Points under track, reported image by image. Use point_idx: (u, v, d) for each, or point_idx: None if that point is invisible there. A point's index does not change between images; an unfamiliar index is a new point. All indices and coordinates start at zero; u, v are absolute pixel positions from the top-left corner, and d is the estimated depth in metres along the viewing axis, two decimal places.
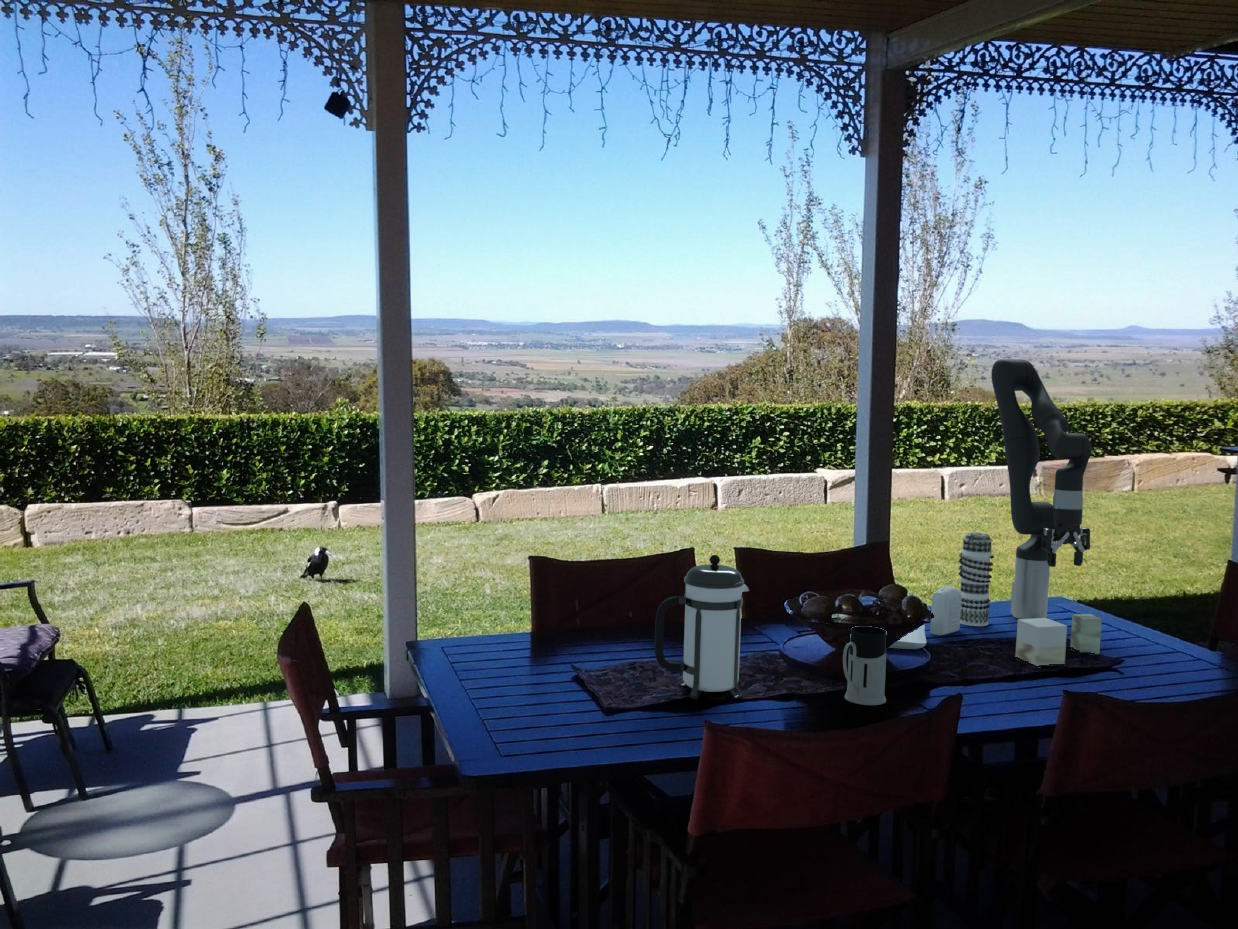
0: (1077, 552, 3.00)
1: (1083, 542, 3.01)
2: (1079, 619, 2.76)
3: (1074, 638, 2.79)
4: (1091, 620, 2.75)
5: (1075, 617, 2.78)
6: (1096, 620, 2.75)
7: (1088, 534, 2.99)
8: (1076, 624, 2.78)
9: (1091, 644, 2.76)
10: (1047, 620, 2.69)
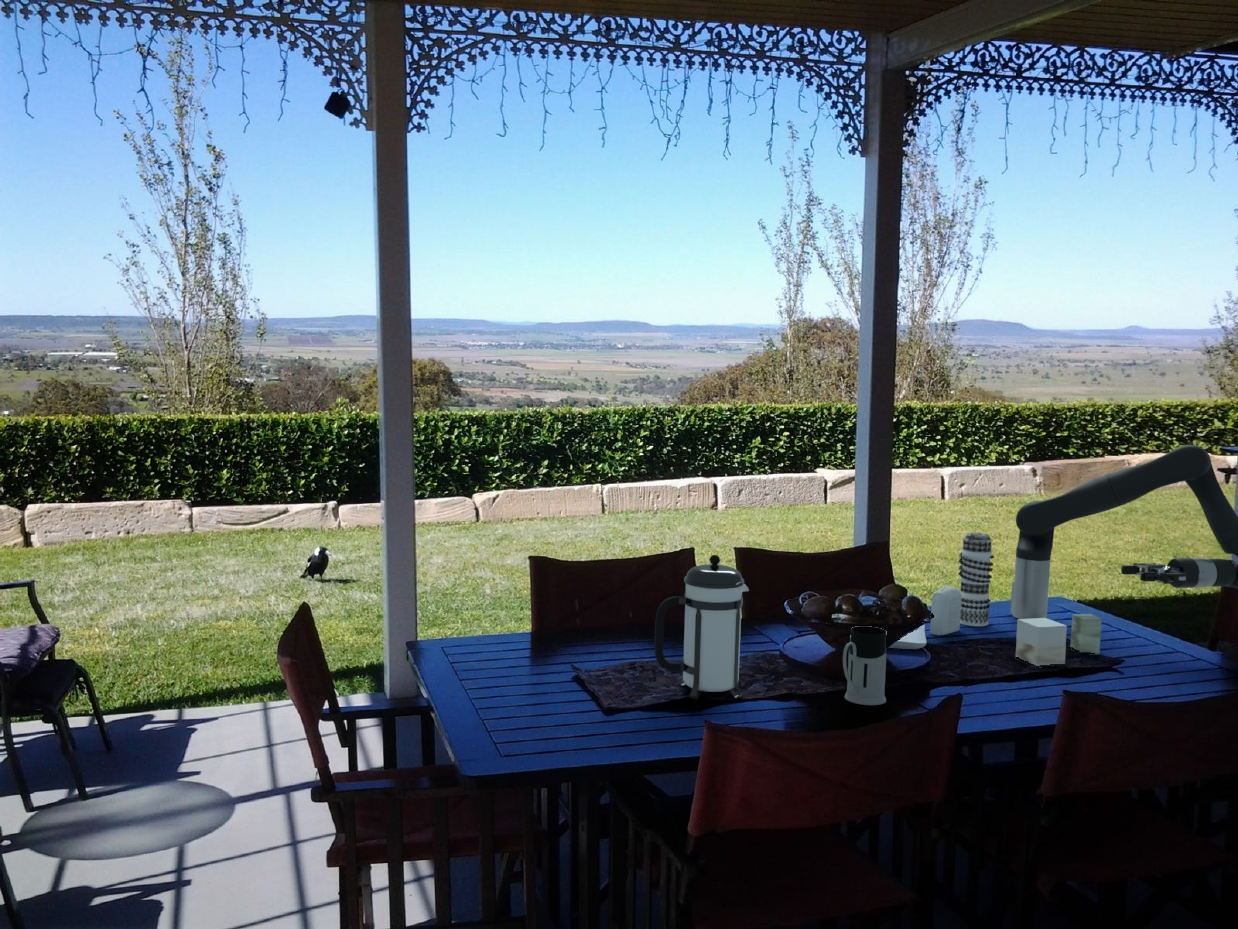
0: (1136, 570, 2.82)
1: None
2: (1079, 619, 2.76)
3: (1074, 638, 2.79)
4: (1091, 620, 2.75)
5: (1075, 617, 2.78)
6: (1096, 620, 2.75)
7: None
8: (1076, 624, 2.78)
9: (1091, 644, 2.76)
10: (1047, 620, 2.69)
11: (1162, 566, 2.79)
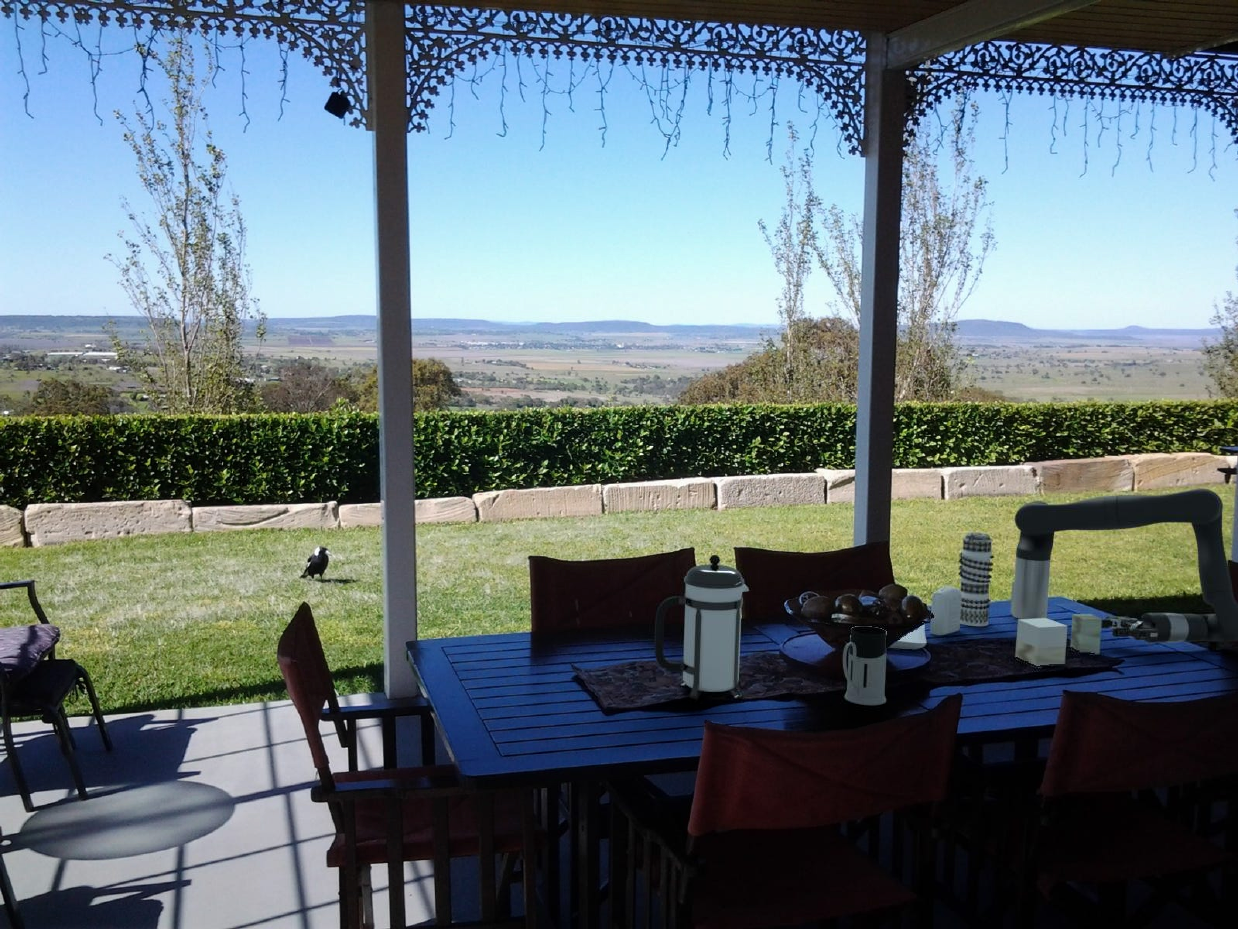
0: (1108, 624, 2.83)
1: None
2: (1079, 619, 2.76)
3: (1074, 638, 2.79)
4: (1091, 620, 2.75)
5: (1075, 617, 2.78)
6: (1096, 620, 2.75)
7: None
8: (1076, 624, 2.78)
9: (1091, 644, 2.76)
10: (1047, 620, 2.69)
11: (1134, 621, 2.80)
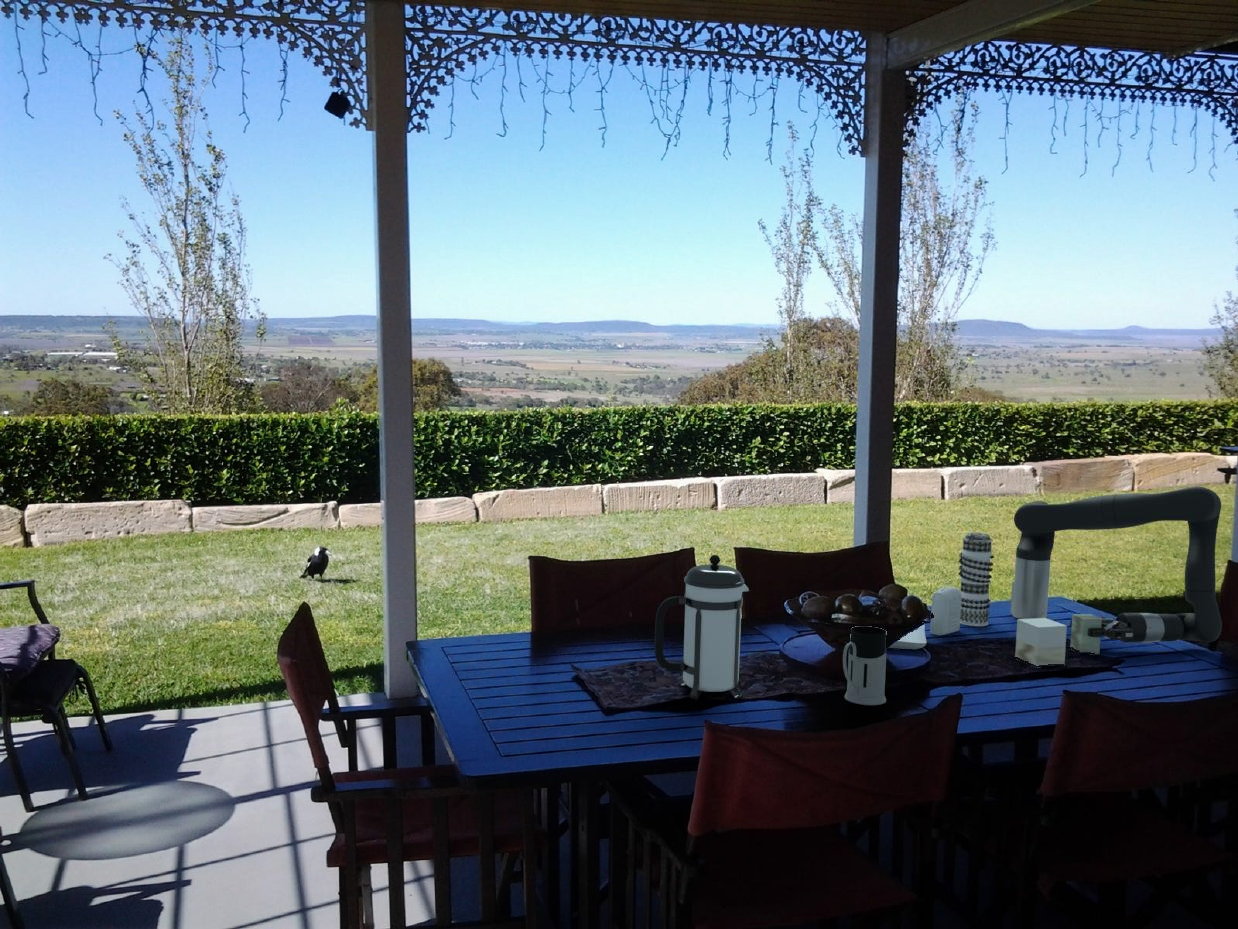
0: None
1: None
2: (1079, 619, 2.76)
3: (1074, 638, 2.79)
4: (1091, 620, 2.75)
5: (1075, 617, 2.78)
6: (1096, 620, 2.75)
7: None
8: (1076, 624, 2.78)
9: (1091, 644, 2.76)
10: (1047, 620, 2.69)
11: (1110, 621, 2.79)
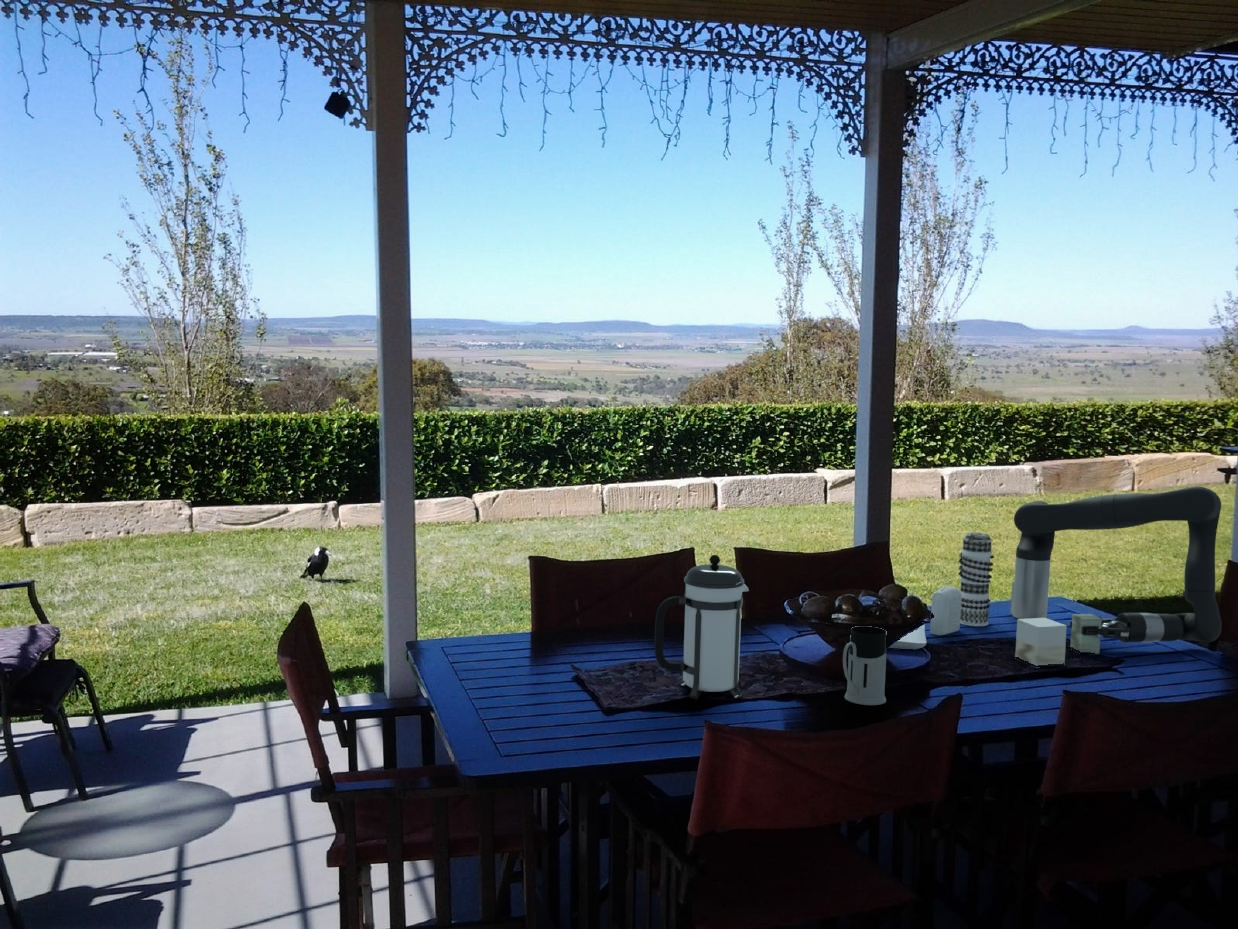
0: None
1: None
2: (1079, 619, 2.76)
3: (1074, 638, 2.79)
4: (1091, 620, 2.75)
5: (1075, 617, 2.78)
6: (1096, 620, 2.75)
7: None
8: (1076, 624, 2.78)
9: (1091, 644, 2.76)
10: (1046, 620, 2.69)
11: (1111, 621, 2.79)
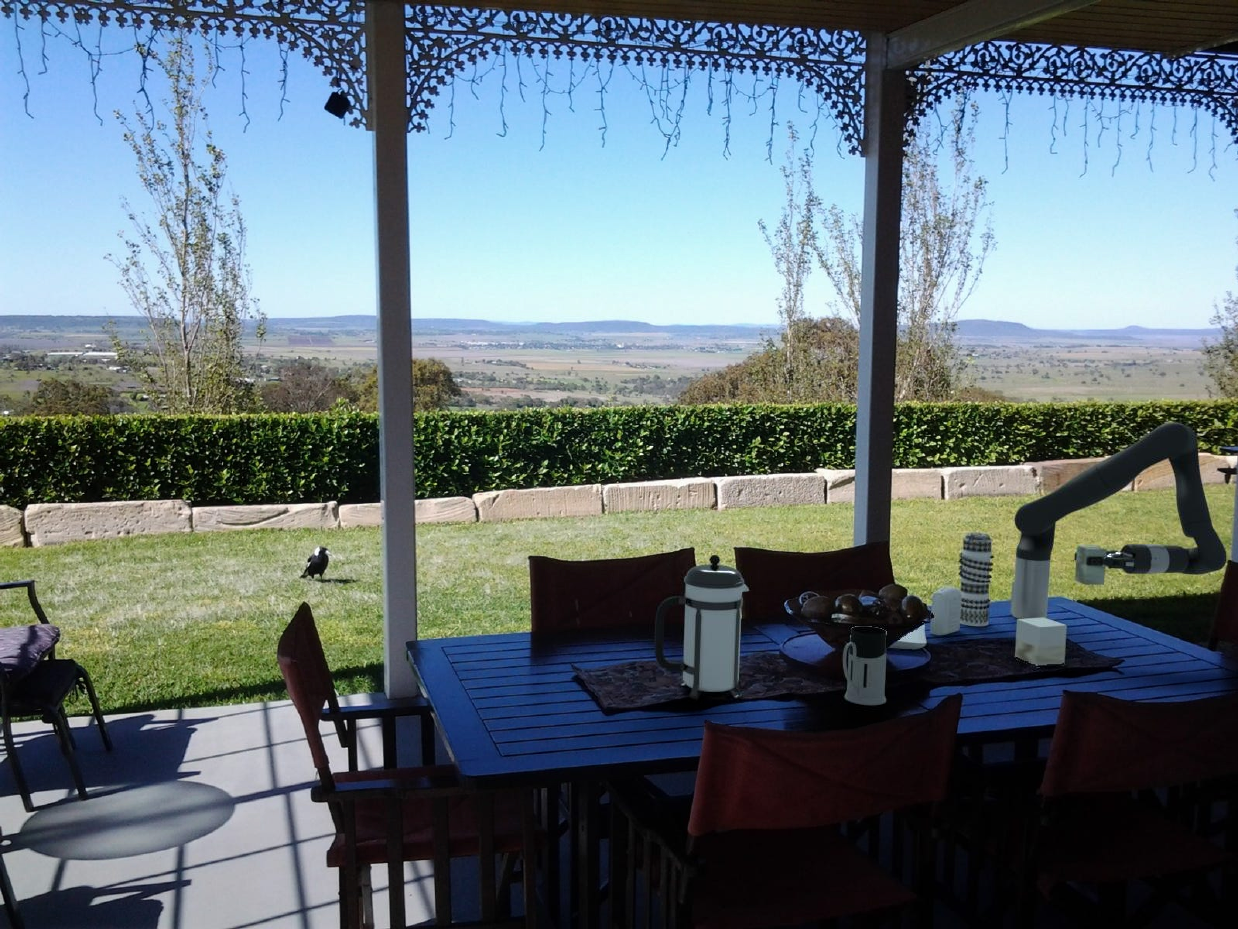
0: None
1: None
2: (1084, 550, 2.75)
3: (1079, 569, 2.77)
4: (1096, 550, 2.73)
5: (1080, 548, 2.76)
6: (1101, 550, 2.73)
7: None
8: (1081, 555, 2.76)
9: (1095, 575, 2.74)
10: (1046, 620, 2.69)
11: (1116, 552, 2.77)
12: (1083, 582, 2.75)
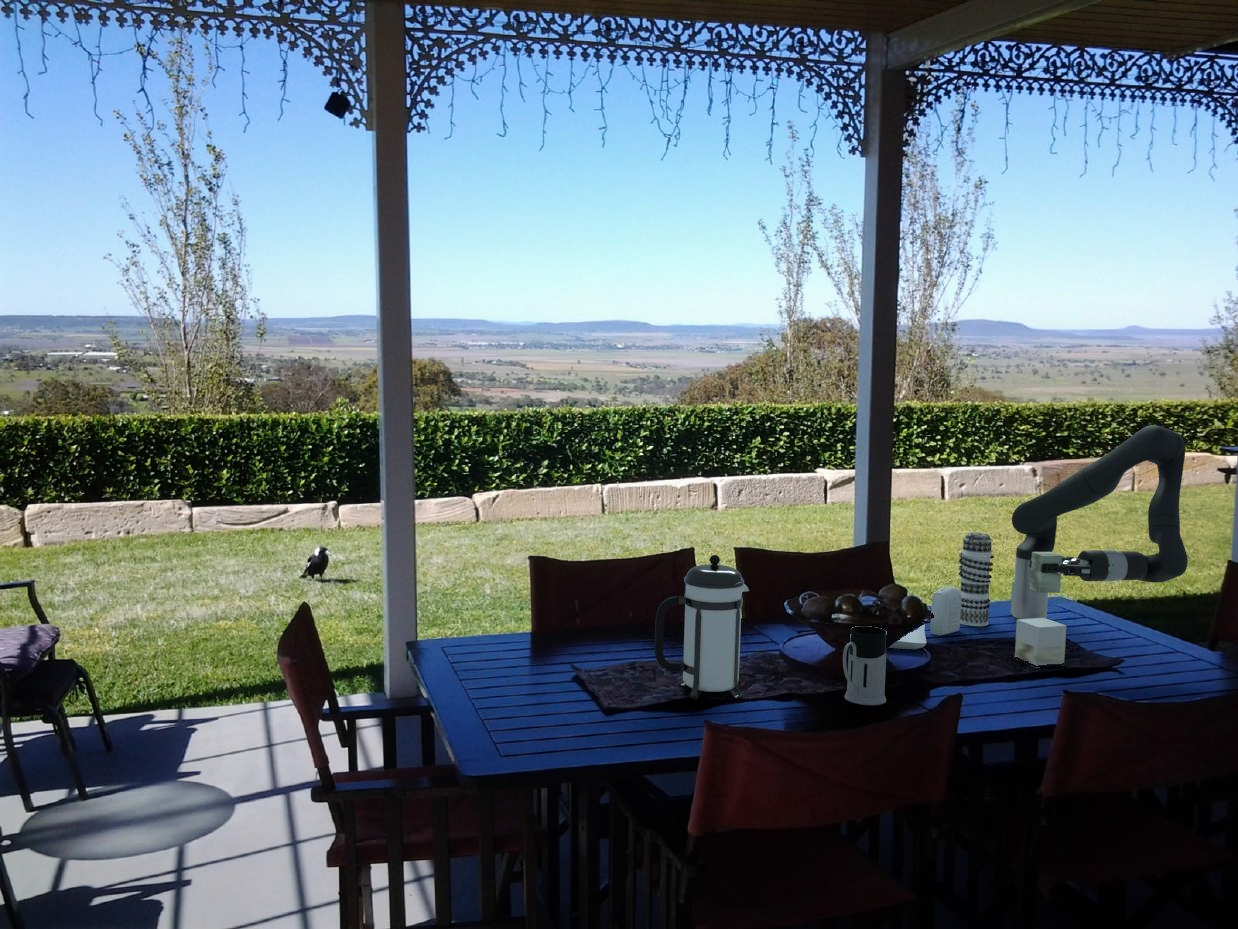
0: None
1: None
2: (1038, 556, 2.64)
3: (1034, 577, 2.66)
4: (1051, 557, 2.62)
5: (1034, 555, 2.66)
6: (1056, 557, 2.63)
7: None
8: (1035, 562, 2.65)
9: (1051, 582, 2.63)
10: (1046, 620, 2.69)
11: (1072, 558, 2.66)
12: (1038, 590, 2.64)
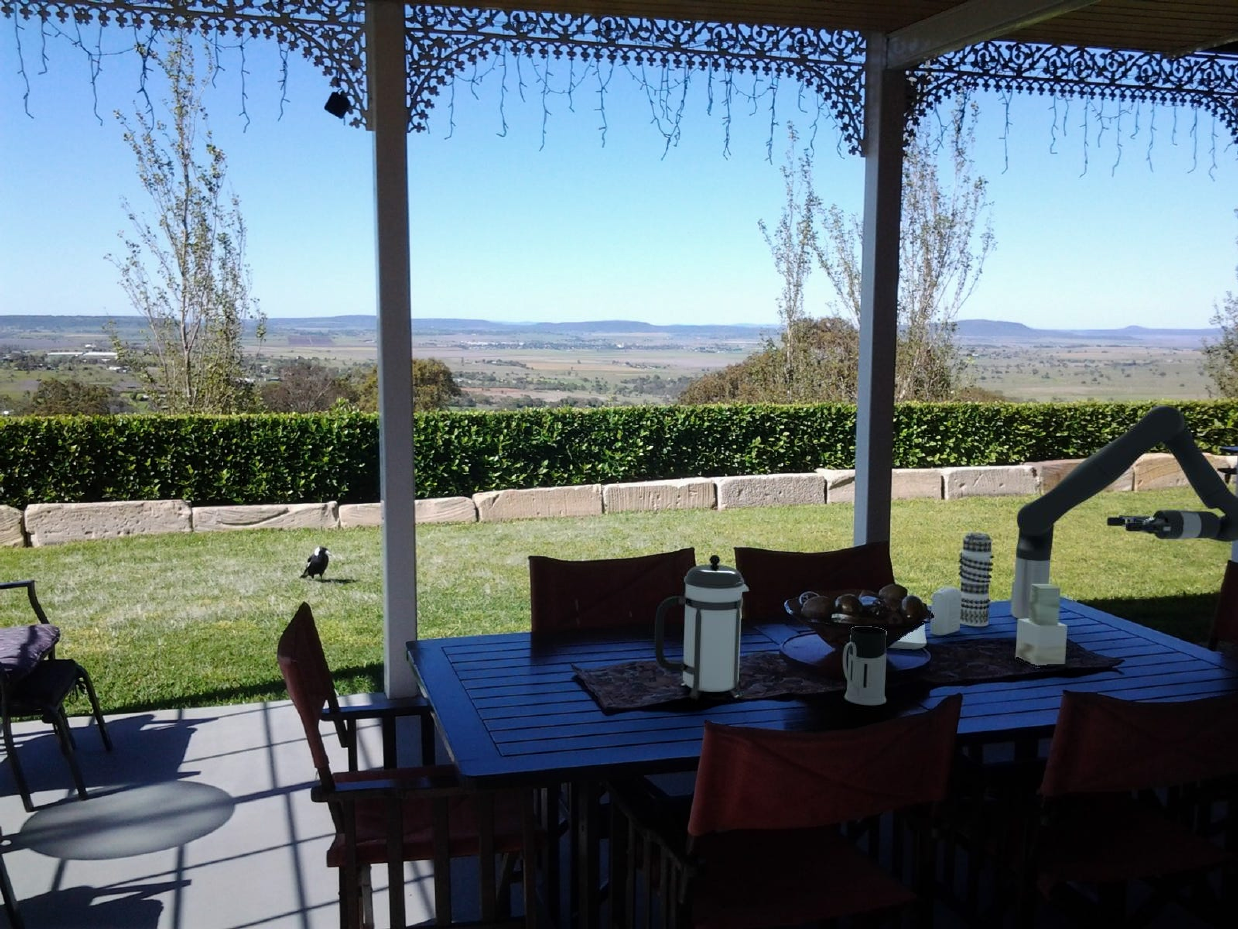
0: (1121, 522, 2.84)
1: None
2: (1037, 588, 2.64)
3: (1032, 609, 2.67)
4: (1049, 589, 2.63)
5: (1033, 587, 2.66)
6: (1054, 589, 2.63)
7: None
8: (1034, 594, 2.66)
9: (1049, 615, 2.64)
10: None
11: (1147, 517, 2.82)
12: (1036, 622, 2.65)
